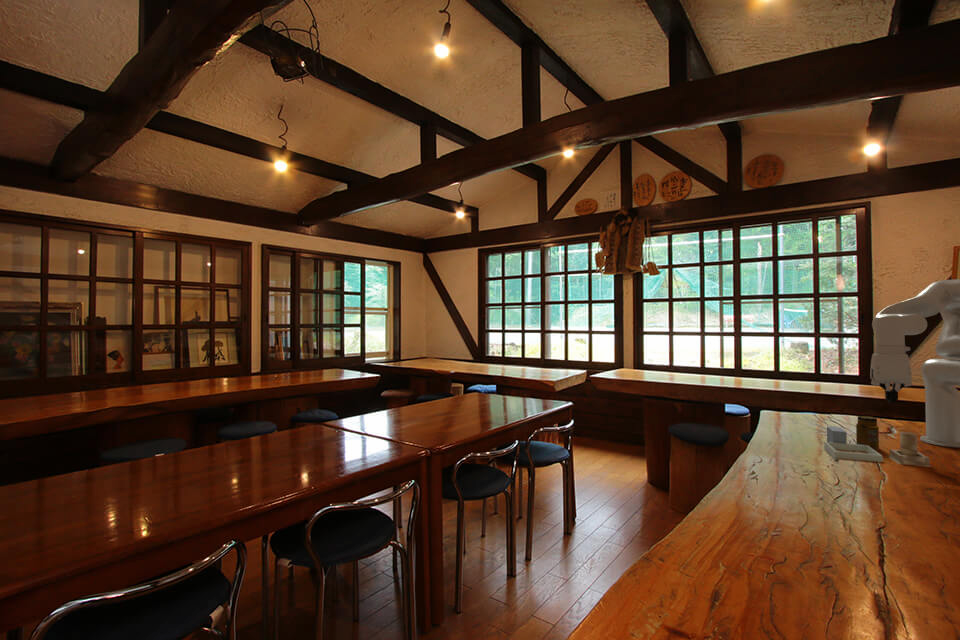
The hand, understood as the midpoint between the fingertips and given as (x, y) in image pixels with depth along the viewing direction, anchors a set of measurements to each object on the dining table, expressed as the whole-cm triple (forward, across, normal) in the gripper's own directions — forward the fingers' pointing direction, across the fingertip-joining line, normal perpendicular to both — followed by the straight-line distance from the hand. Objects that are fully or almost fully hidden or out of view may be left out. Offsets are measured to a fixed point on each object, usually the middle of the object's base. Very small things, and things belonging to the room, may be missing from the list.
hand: (891, 401), depth 153 cm
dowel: (+17, +1, +14) cm, 22 cm away
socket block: (+18, +1, +14) cm, 22 cm away
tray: (+18, +15, +11) cm, 25 cm away
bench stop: (+18, +16, +1) cm, 24 cm away
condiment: (+18, +7, +1) cm, 20 cm away
